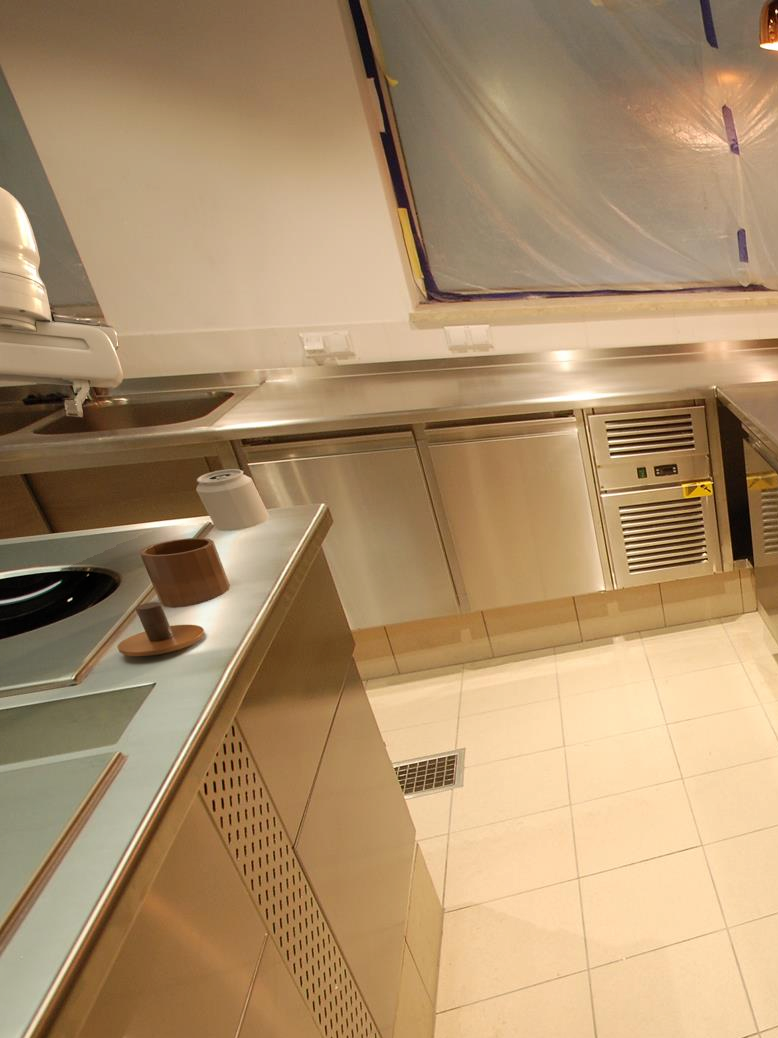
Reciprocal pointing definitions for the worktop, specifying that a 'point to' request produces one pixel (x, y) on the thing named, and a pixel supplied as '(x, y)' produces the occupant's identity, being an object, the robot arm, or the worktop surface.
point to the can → (231, 500)
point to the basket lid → (158, 634)
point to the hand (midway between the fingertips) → (22, 413)
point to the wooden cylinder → (185, 571)
